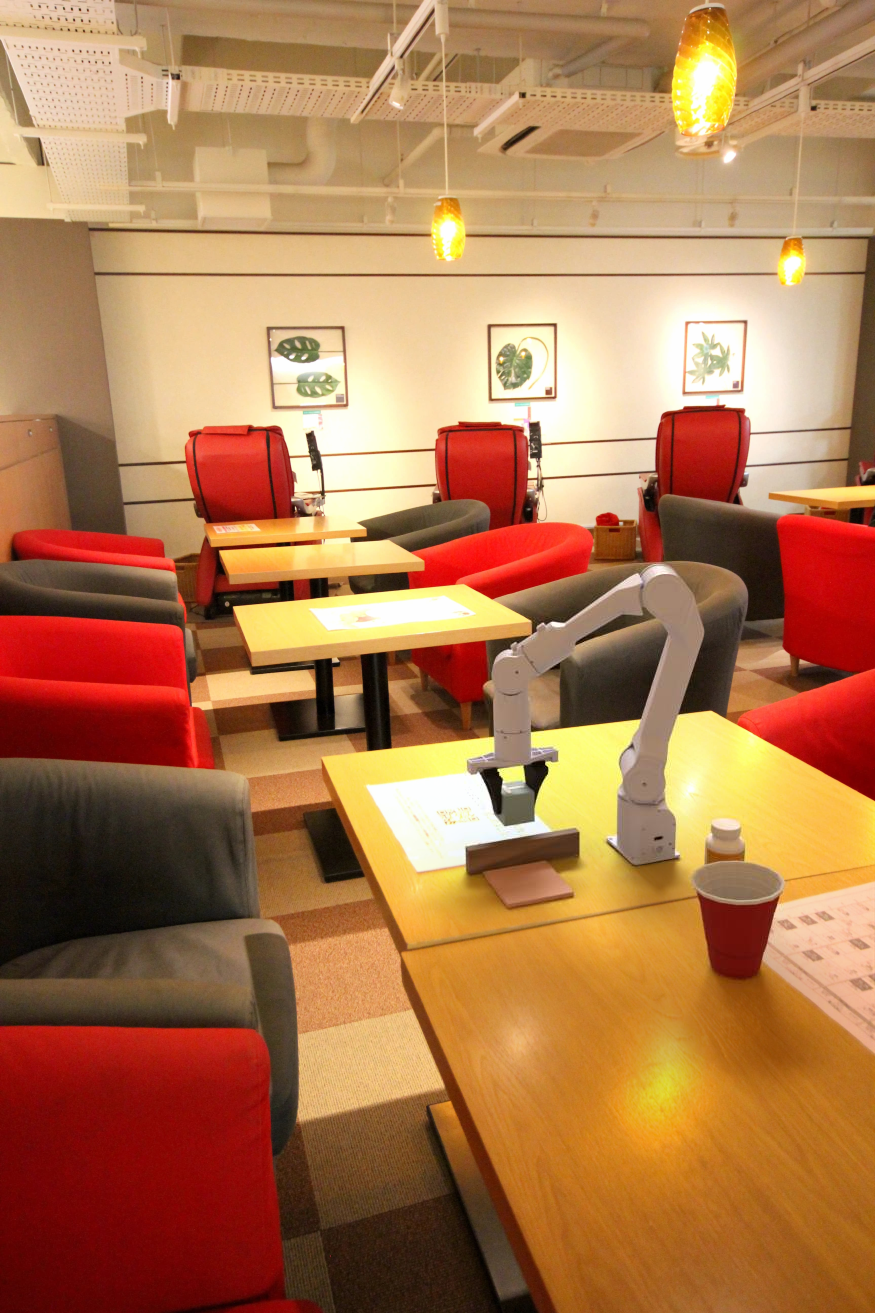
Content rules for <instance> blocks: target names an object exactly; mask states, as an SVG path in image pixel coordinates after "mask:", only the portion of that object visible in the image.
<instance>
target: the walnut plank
mask: <svg viewBox="0 0 875 1313" xmlns="http://www.w3.org/2000/svg"><path fill="white" fill-rule="evenodd" d="M580 837H581V835H580V831H579V829H577V827H571V828H567V829H560V830H554V831H548V832H541V833H537V834H530V835H524V836H519V837H513V838H507V839H502V840H494V841H489V842H484V843H479V844H472V845H466V846H465V870H466V873H467V874H468V875H469V876H472V875H478V874H484V871H490V870H495V869H501V868H506V867H512V866H518V865H523V864H529V863H534V862H540V861H545V860H546V861H547V862H549V861H556V860H561V859H567V858H573V857H578V856H579V857H580V855H581V854H580V853H581V852H580V849H581V848H580V847H581V846H580V841H581V840H580V839H581V838H580Z"/></svg>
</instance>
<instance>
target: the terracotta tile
mask: <svg viewBox="0 0 875 1313" xmlns="http://www.w3.org/2000/svg"><path fill="white" fill-rule="evenodd" d="M483 877H484V878H485V879H486V880H487V882H488V883H489V885H490V886H491V887H492V889H493V890H494V892H495V893H496V894H497V896H498V897H499V899H501V901H502V902H503V904H504V906H505V907H506V908H507V909H510V908H516V907H521V906H525V905H526V906H527V905H531V904H532V905H533V904H536V903H541V902H547V901H552V900H557V899H562V898H568V897H573V896H575V895H574V894H575V893H574V892H575V891H574V890H573V889H572V888H571V886H569V884H567V883H566V881H565V880H564V879H563V878H562V877H561V876H560V875H559V873H557V871H556V870H555V869H554V868H553V867H552V866H551V865H550V864H549V863H548V861H546V860H545V861H540V862H534V863H529V864H523V865H518V866H512V867H506V868H501V869H495V870H490V871H484V873H483Z"/></svg>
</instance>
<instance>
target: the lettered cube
mask: <svg viewBox="0 0 875 1313" xmlns="http://www.w3.org/2000/svg"><path fill="white" fill-rule="evenodd" d="M501 803H502V811H501V814H499V815H497V814H496V813H495V812H494V811H493V815H494V817H496V819H497V820H498V821H499V822H500V823H501V825H503V827H511V826H516V825H517V826H518V825H521V824H529V823H534V822H535V821H536V820H535V814H536V812H535V808H536V804H535V805H534V791H533V790H532V789H531V788H530V787H529V786H528V785H527V784H526V783H525V780H516V781H509V782H508V781H507V782H504V783H502V791H501Z"/></svg>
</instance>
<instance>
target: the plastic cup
mask: <svg viewBox="0 0 875 1313" xmlns="http://www.w3.org/2000/svg"><path fill="white" fill-rule="evenodd" d="M689 880H690V882H691V885H692V888H693V890H694V891H695V892H696V894H697V899H698V901H699V907H700V913H701V918H702V926H703V931H704V937H705V941H706V948H707V955H708V960H709V963H710V966H711V969H712V970H714V972H716V974H719V975H721V976H722V977H725V978H727V979H731V980H748V979H753V978H754V977H755V976H757V975H758V973H759V971H760V968H761V966H762V961H763V957H764V953H765V952H766V950H767V949H766V948H767V946H768V941H769V938H770V933H771V930H772V925H773V922H774V921H773V920H774V916H775V913H776V910H777V906H778V903H779V900H780V897H781V895H782V894H783V892H784V889H785V886H786V883H787V882H786V880H785V879H784V877H783V876H782V874H781V873H780V872H778V871H776V870H774V868H771V867H769V866H766V865H763V864H759V863H756V862H749V861H745V860H744V861H719V862H715V863H710V864H706V865H704V864H703V865H702V866H700V867H698V868H696V869H695V870H693V871H692V874H691V875H690V878H689Z"/></svg>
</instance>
